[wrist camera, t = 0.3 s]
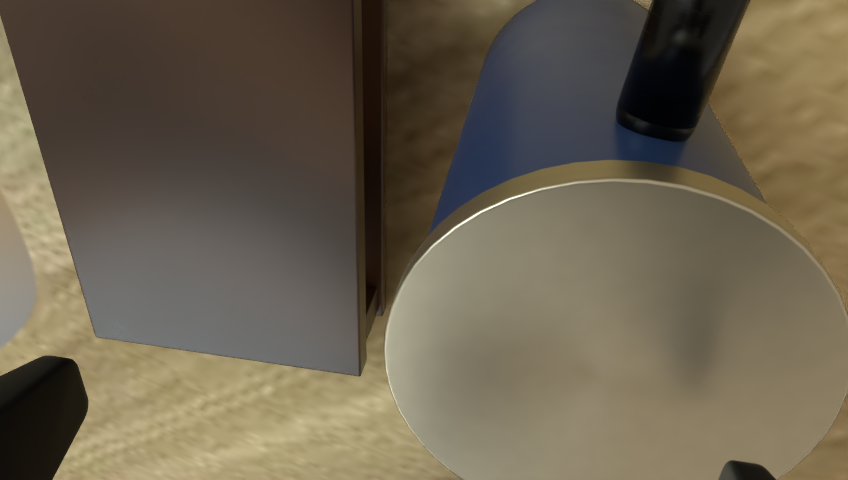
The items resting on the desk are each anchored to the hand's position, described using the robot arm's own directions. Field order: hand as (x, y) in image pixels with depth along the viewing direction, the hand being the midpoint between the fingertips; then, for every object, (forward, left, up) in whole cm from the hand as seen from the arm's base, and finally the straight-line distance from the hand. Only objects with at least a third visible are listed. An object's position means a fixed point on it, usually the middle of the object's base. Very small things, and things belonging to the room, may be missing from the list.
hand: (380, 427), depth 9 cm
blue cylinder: (+2, -3, -14) cm, 15 cm away
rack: (-2, +8, -14) cm, 16 cm away
